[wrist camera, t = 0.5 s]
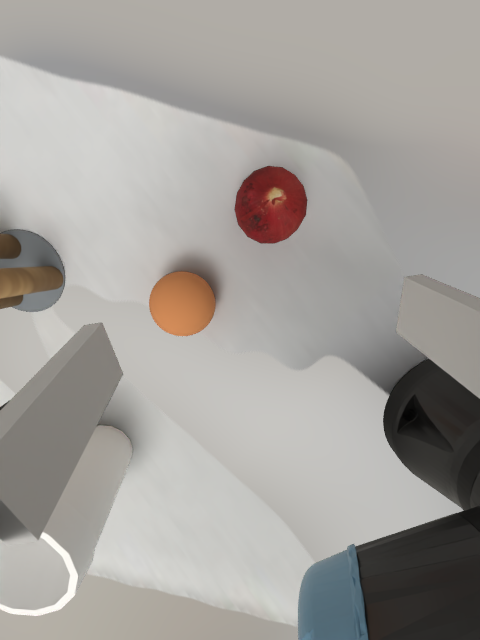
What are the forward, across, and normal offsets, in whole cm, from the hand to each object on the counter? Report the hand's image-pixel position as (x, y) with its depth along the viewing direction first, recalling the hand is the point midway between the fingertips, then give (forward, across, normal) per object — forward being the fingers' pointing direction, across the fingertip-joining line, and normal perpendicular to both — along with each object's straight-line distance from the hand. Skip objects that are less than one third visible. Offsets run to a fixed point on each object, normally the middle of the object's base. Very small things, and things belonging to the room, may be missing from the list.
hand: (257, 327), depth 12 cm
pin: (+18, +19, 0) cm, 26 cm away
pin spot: (+18, +22, -1) cm, 29 cm away
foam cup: (+13, +19, +21) cm, 31 cm away
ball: (+13, +6, +3) cm, 14 cm away
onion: (+17, -4, -3) cm, 18 cm away
